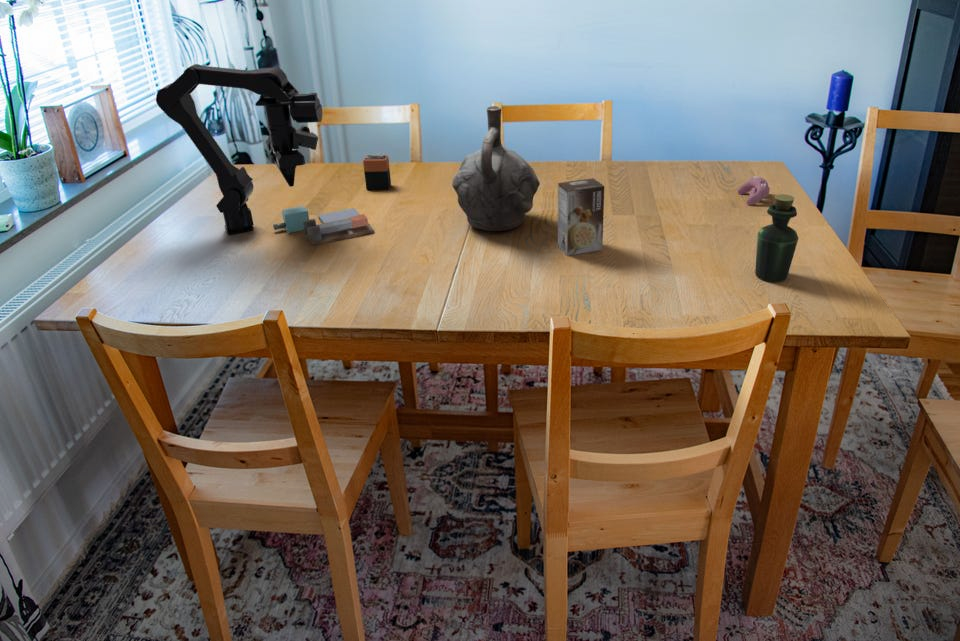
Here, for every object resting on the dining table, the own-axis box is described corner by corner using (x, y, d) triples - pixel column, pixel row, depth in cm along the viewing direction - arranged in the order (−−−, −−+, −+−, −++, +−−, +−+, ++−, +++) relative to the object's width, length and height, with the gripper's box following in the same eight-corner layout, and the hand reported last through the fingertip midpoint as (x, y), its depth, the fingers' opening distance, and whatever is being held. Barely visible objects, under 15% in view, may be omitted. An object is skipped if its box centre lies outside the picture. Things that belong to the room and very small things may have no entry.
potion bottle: (744, 276, 163) (756, 198, 154) (762, 264, 168) (775, 187, 159) (779, 288, 158) (794, 207, 149) (797, 275, 163) (812, 196, 154)
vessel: (548, 241, 183) (549, 118, 168) (458, 248, 181) (451, 124, 166) (532, 205, 204) (531, 93, 189) (451, 211, 202) (445, 98, 187)
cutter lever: (311, 236, 187) (310, 230, 186) (309, 232, 189) (307, 225, 188) (368, 224, 192) (367, 218, 191) (364, 220, 194) (363, 214, 193)
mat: (327, 231, 194) (326, 227, 193) (318, 218, 202) (318, 214, 201) (364, 223, 197) (364, 220, 197) (354, 211, 205) (354, 207, 205)
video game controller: (760, 211, 198) (775, 188, 195) (745, 204, 198) (761, 181, 194) (748, 198, 207) (763, 175, 204) (735, 191, 206) (749, 169, 203)
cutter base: (310, 245, 186) (307, 229, 184) (305, 237, 191) (302, 220, 189) (374, 232, 192) (372, 216, 189) (367, 224, 196) (365, 209, 194)
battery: (389, 190, 219) (385, 156, 214) (366, 190, 219) (362, 157, 214) (391, 184, 223) (388, 152, 218) (368, 185, 223) (365, 152, 218)
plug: (276, 235, 193) (272, 217, 190) (273, 230, 196) (269, 212, 194) (310, 228, 196) (307, 210, 193) (307, 223, 199) (304, 205, 197)
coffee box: (592, 240, 182) (594, 177, 174) (602, 250, 177) (606, 186, 169) (556, 246, 181) (557, 182, 172) (566, 256, 175) (568, 191, 167)
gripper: (321, 127, 178) (330, 190, 186) (304, 110, 193) (313, 168, 201) (274, 134, 174) (285, 197, 182) (260, 116, 189) (271, 175, 197)
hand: (290, 184), depth 190 cm, fingers open, 3 cm apart
